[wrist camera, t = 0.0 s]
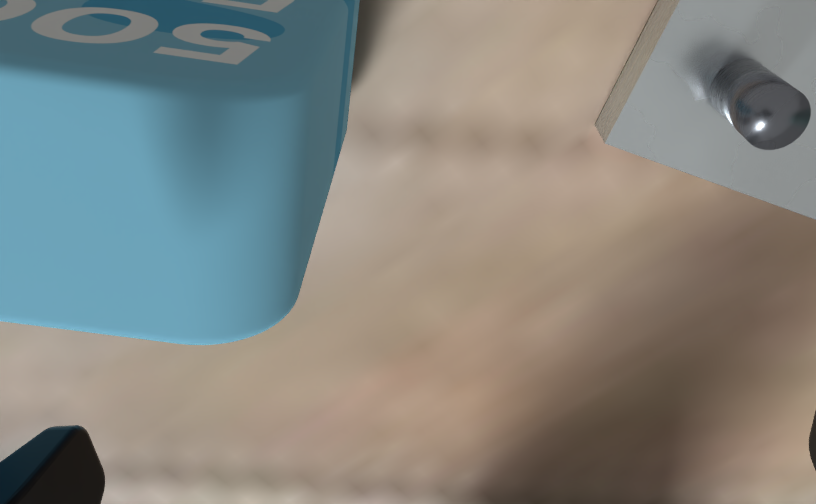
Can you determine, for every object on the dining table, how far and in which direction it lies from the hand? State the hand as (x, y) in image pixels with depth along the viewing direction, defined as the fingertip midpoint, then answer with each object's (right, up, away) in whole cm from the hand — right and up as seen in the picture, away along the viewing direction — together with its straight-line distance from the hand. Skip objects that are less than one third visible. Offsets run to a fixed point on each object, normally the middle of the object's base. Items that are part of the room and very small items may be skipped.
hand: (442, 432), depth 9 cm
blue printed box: (-8, +9, +12) cm, 17 cm away
